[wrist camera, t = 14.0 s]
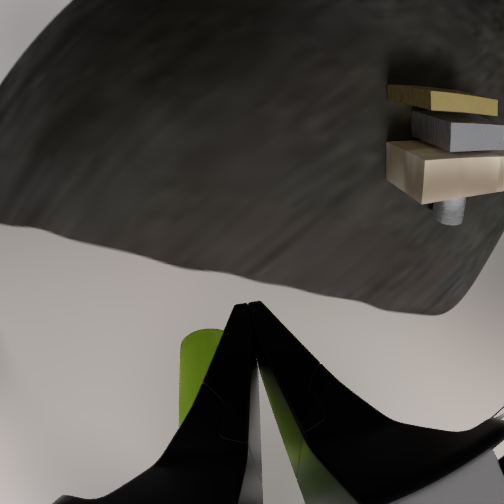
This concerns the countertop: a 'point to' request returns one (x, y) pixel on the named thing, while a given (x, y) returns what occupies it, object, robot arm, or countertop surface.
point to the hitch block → (442, 171)
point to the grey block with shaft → (456, 146)
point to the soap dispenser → (195, 365)
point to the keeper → (442, 99)
